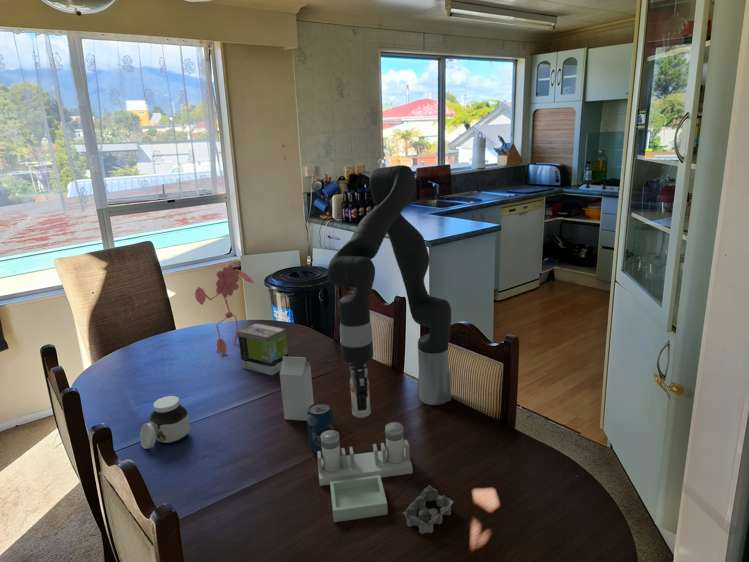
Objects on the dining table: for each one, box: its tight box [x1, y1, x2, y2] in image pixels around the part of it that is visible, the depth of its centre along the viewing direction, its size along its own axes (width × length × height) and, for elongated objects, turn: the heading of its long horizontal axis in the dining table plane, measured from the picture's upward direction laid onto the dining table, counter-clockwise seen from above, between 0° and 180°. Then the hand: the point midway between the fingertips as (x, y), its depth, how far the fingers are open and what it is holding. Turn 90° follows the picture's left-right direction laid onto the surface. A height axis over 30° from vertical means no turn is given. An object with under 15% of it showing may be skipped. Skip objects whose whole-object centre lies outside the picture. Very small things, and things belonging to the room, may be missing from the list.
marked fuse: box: [349, 376, 372, 419], centre depth 128 cm, size 5×5×9 cm
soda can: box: [306, 402, 335, 455], centre depth 142 cm, size 7×7×12 cm
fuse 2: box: [384, 421, 405, 464], centre depth 133 cm, size 5×5×9 cm
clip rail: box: [316, 439, 414, 487], centre depth 133 cm, size 23×8×6 cm, turn 98°
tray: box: [329, 475, 389, 523], centre depth 121 cm, size 12×10×3 cm
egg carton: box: [402, 484, 454, 535], centre depth 116 cm, size 11×8×4 cm
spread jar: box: [139, 395, 191, 450], centre depth 149 cm, size 12×11×12 cm
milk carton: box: [279, 356, 315, 422], centre depth 158 cm, size 7×7×19 cm
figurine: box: [194, 263, 254, 359], centre depth 205 cm, size 15×26×35 cm, turn 148°
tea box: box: [237, 322, 289, 376], centre depth 193 cm, size 15×10×15 cm
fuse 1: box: [321, 429, 342, 473], centre depth 131 cm, size 5×5×9 cm
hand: (360, 404), depth 128 cm, fingers closed on marked fuse, 4 cm apart
